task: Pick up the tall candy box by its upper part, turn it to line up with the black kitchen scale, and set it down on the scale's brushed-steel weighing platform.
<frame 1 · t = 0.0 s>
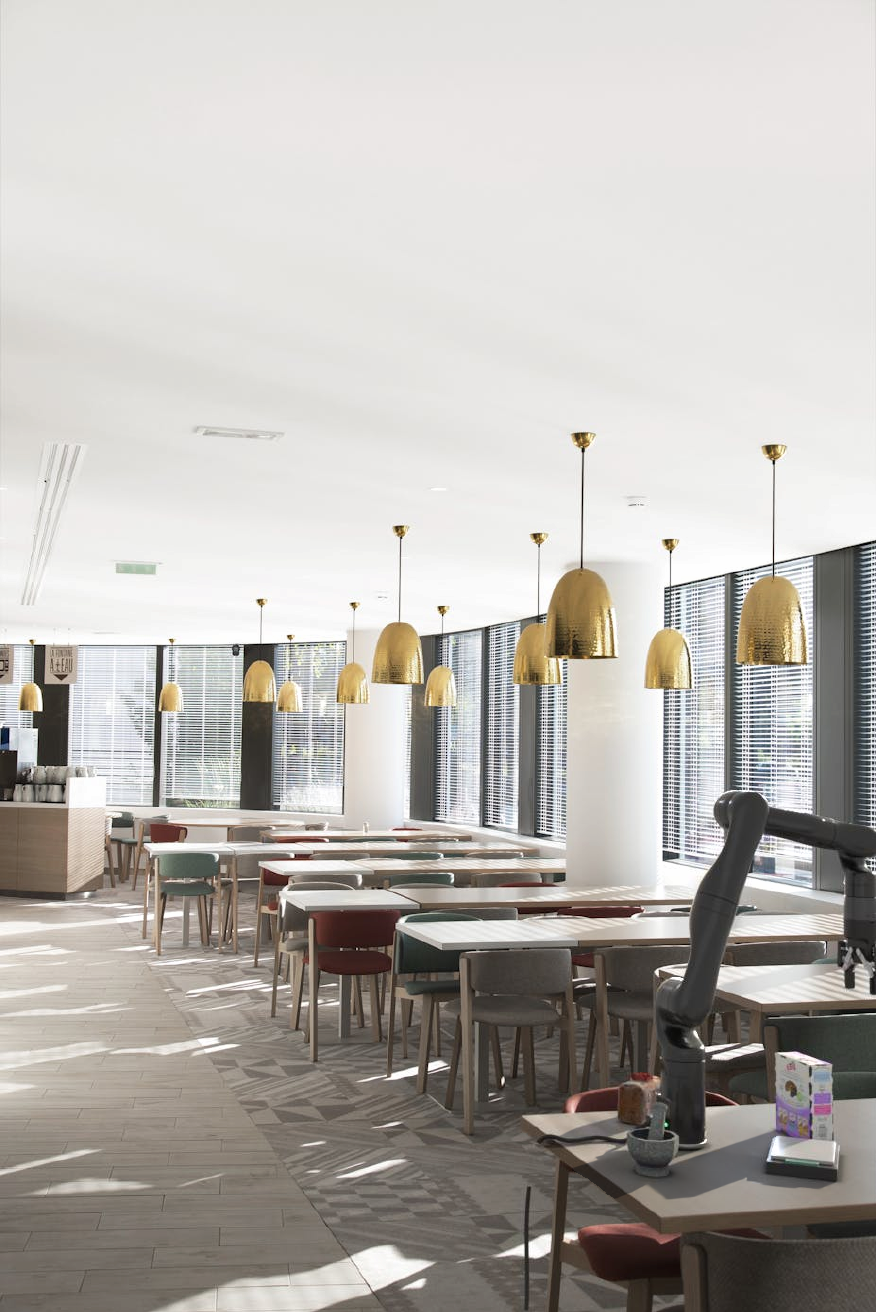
hand: (862, 991, 278), 29 cm above the table, tool pointing down, fingers open, 8 cm apart
food item: (642, 1118, 280), on the table
scale: (804, 1164, 247), on the table
mortar and pestle: (653, 1172, 241), on the table
candy box: (804, 1138, 267), on the table
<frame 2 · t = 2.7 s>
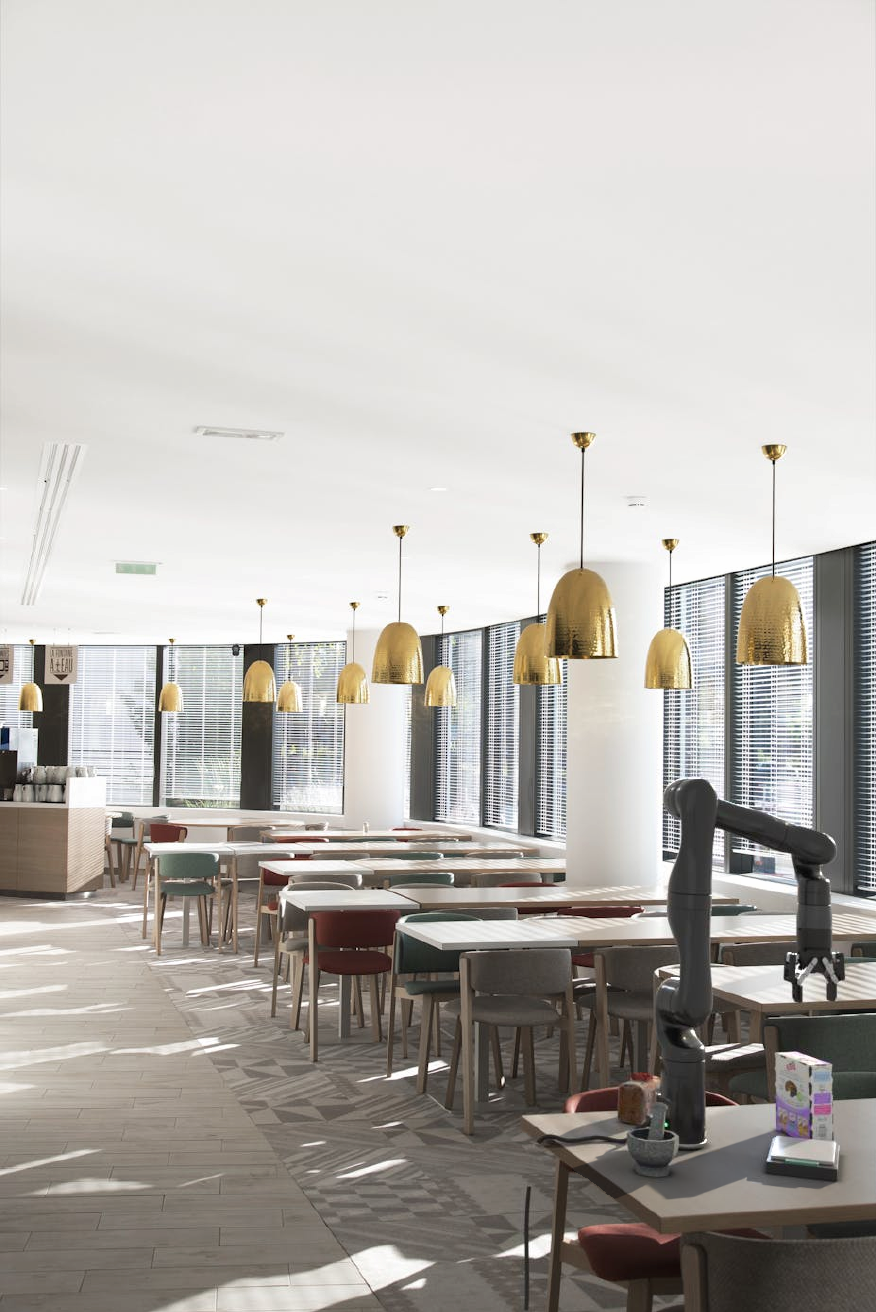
hand: (814, 1001, 271), 28 cm above the table, tool pointing down, fingers open, 8 cm apart
nothing on the table moved.
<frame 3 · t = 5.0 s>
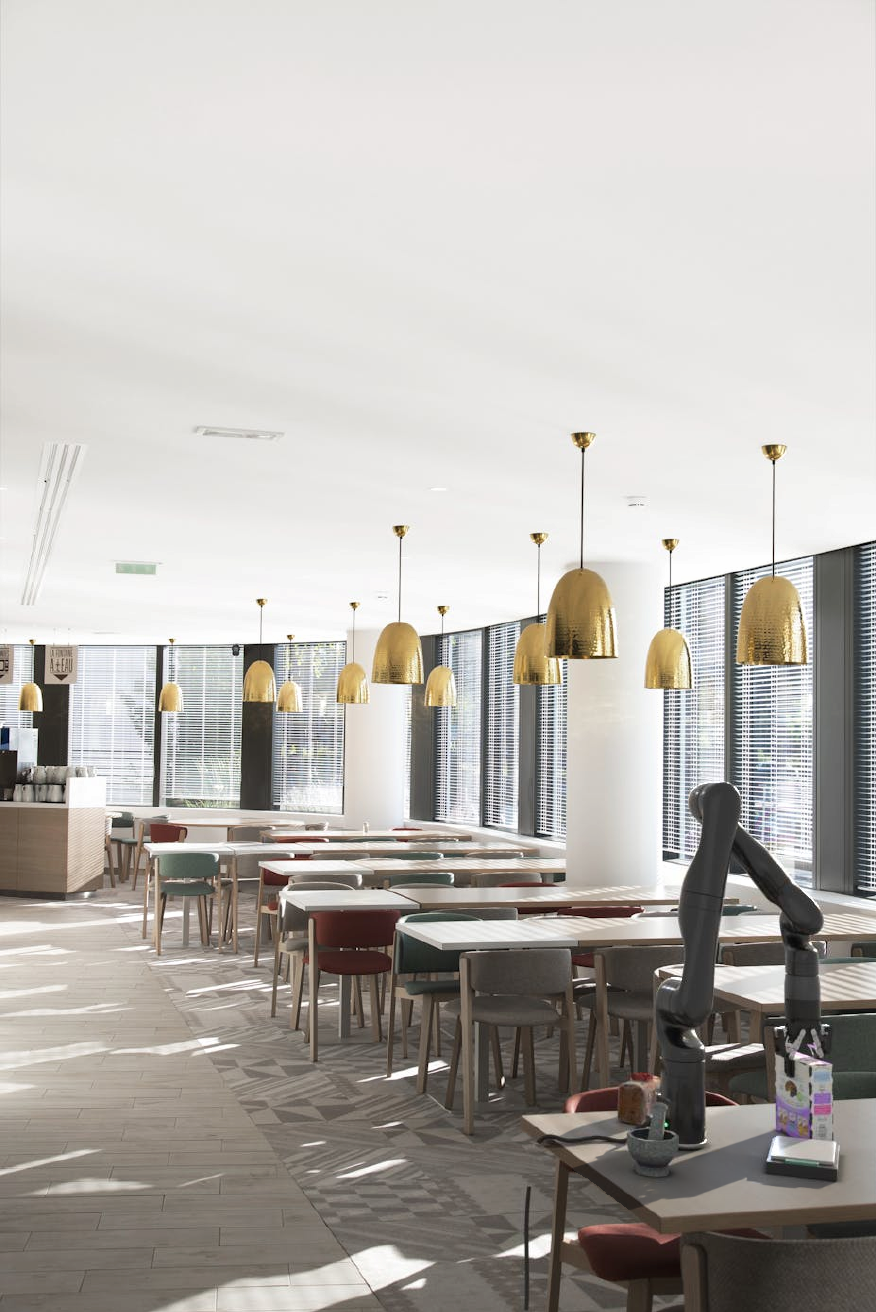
hand: (803, 1075, 268), 13 cm above the table, tool pointing down, fingers closed on candy box, 6 cm apart
candy box: (804, 1138, 267), on the table, touching gripper
everything else where it was.
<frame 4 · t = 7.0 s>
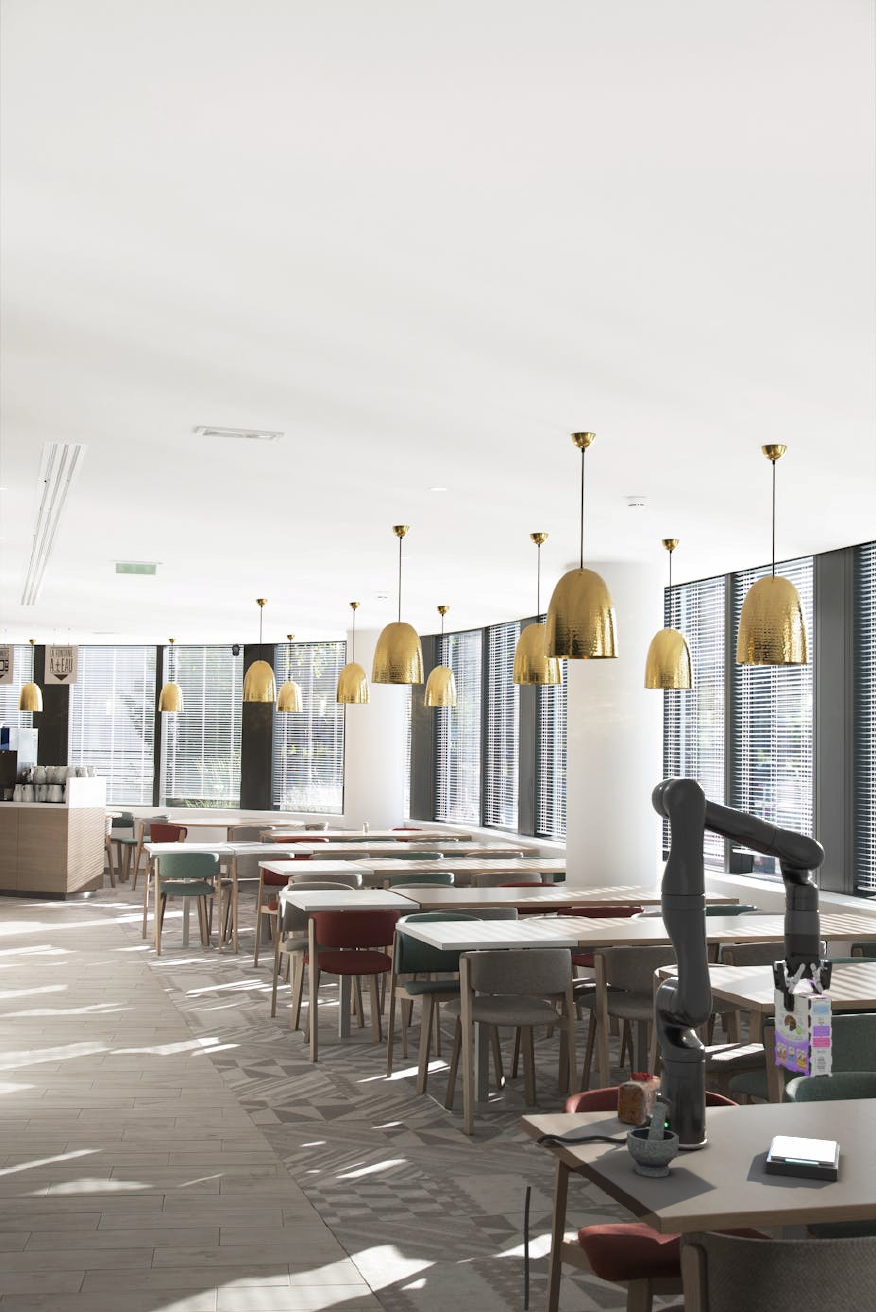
hand: (802, 1010, 270), 26 cm above the table, tool pointing down, fingers closed on candy box, 6 cm apart
candy box: (802, 1071, 268), point 13 cm above the table, touching gripper
everything else where it was.
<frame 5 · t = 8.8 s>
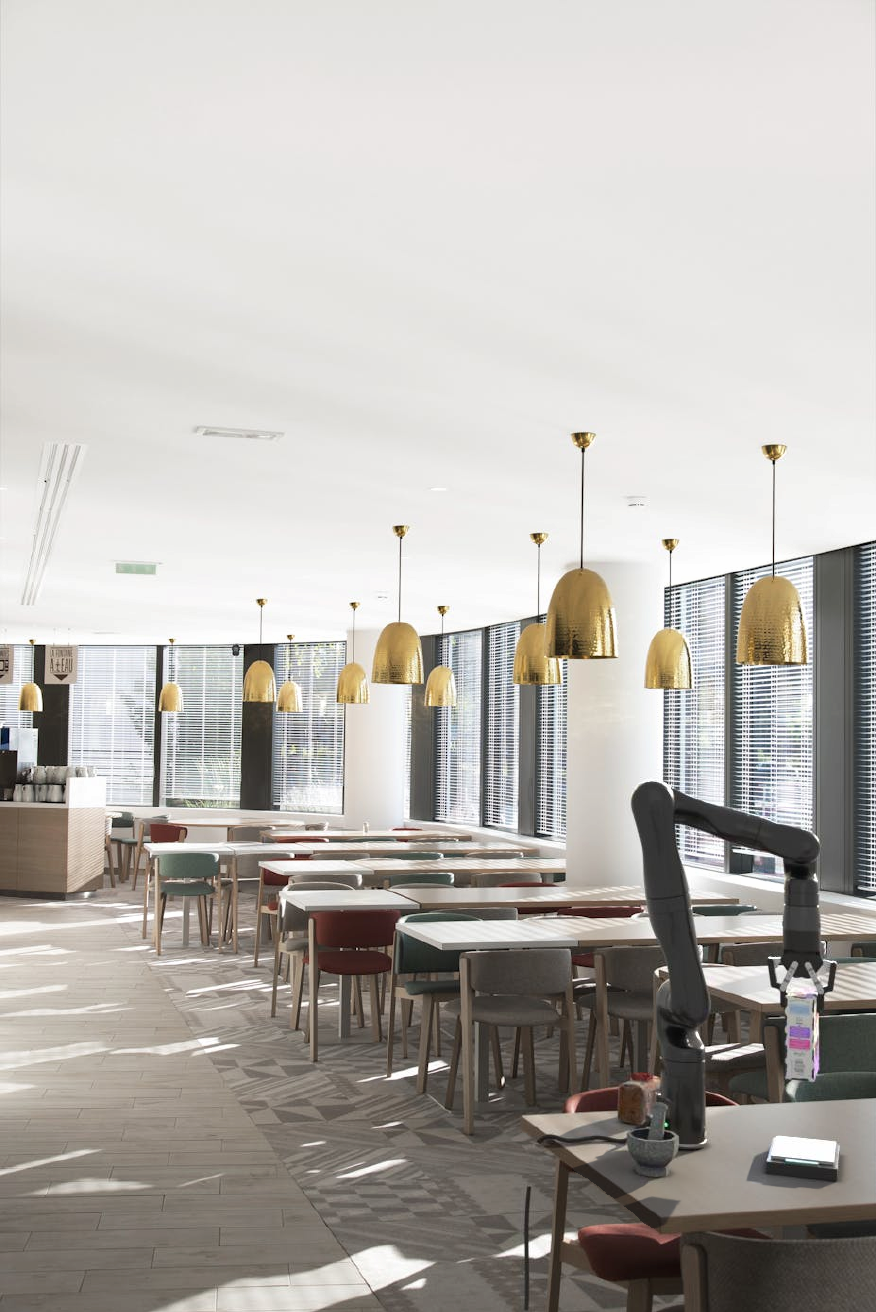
hand: (802, 1011, 256), 28 cm above the table, tool pointing down, fingers closed on candy box, 6 cm apart
candy box: (802, 1075, 255), point 16 cm above the table, touching gripper
everything else where it was.
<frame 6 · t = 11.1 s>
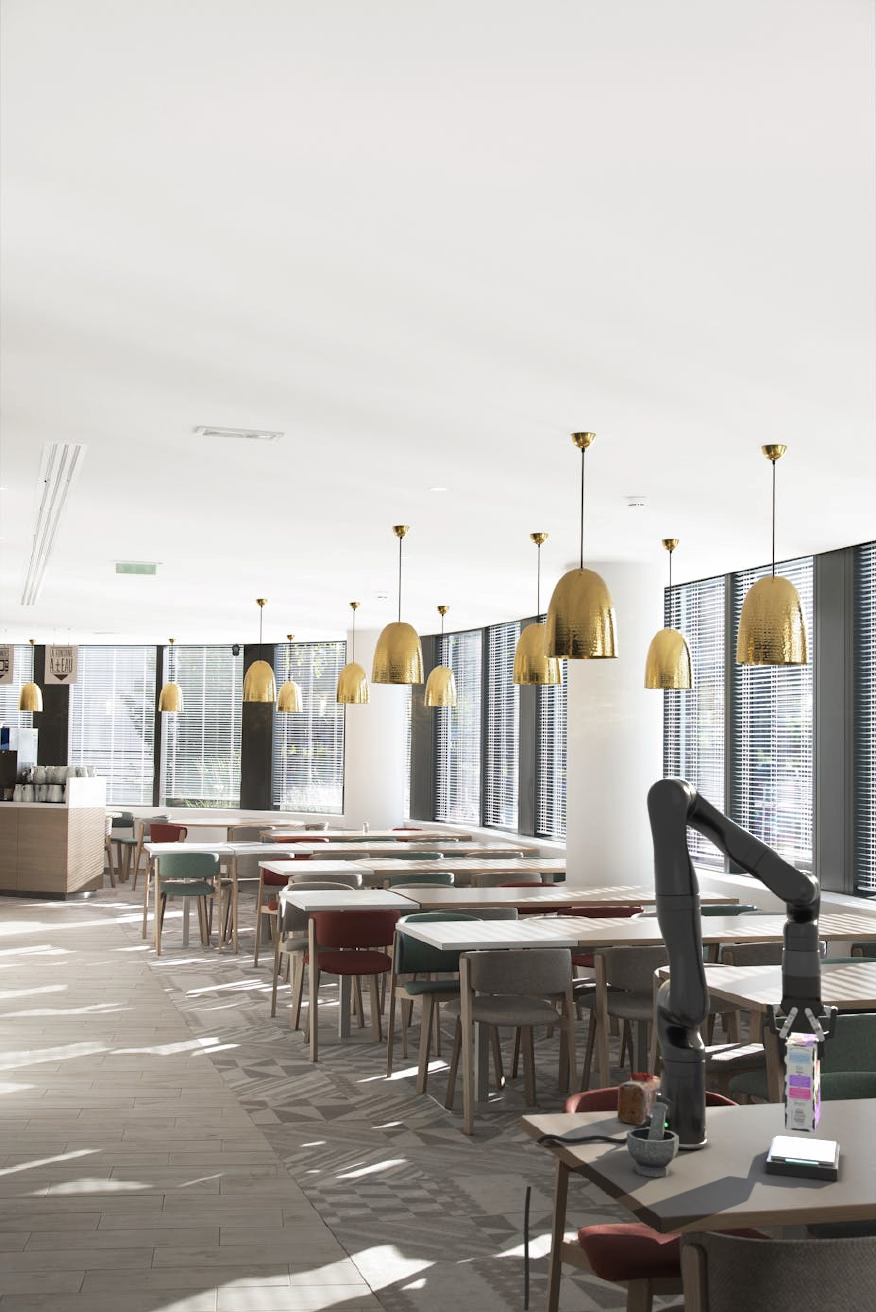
hand: (802, 1058, 250), 20 cm above the table, tool pointing down, fingers closed on candy box, 6 cm apart
candy box: (803, 1124, 249), point 7 cm above the table, touching gripper
everything else where it was.
when the fingers open (15 cm above the table, at t = 12.9 s): candy box stays where it is, resting on scale.
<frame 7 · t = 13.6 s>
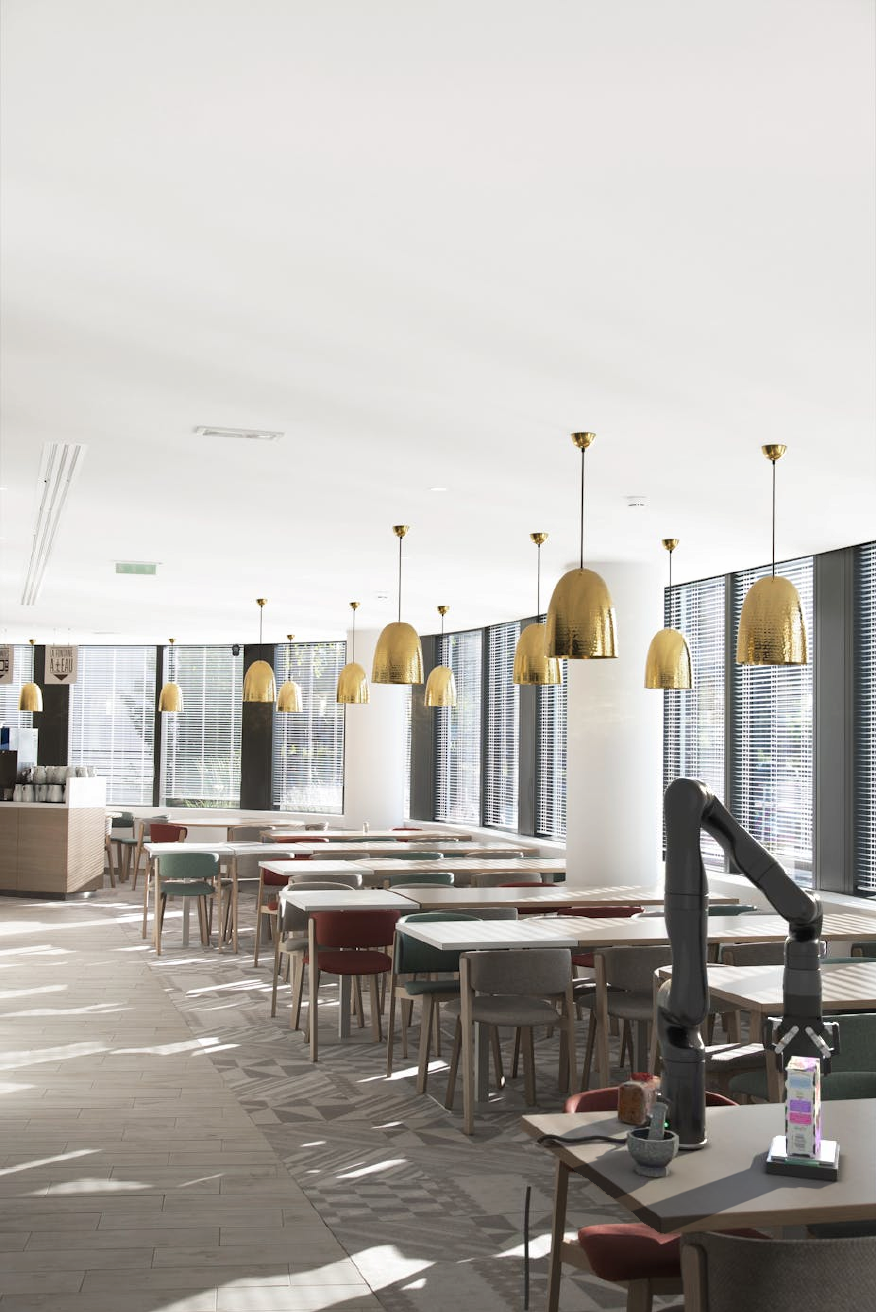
hand: (803, 1074, 250), 17 cm above the table, tool pointing down, fingers open, 8 cm apart
candy box: (803, 1149, 249), point 3 cm above the table, touching scale
everything else where it was.
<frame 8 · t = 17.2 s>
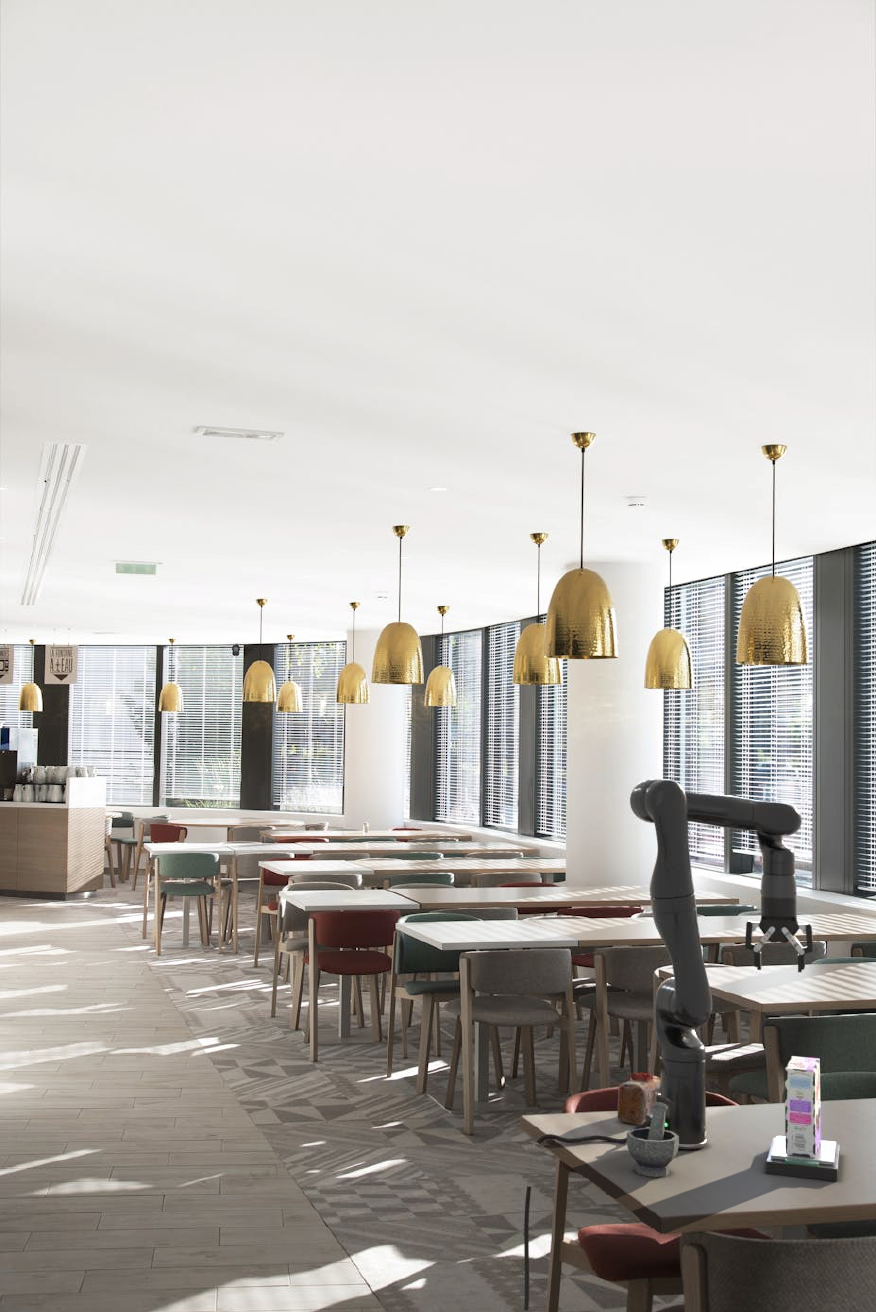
hand: (779, 970, 273), 34 cm above the table, tool pointing down, fingers open, 8 cm apart
nothing on the table moved.
at the end: candy box inside the target area on the scale (0.2 cm from its centre), point 2.6 cm above the scale's base; candy box tilted 0°; the gripper is holding nothing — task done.
